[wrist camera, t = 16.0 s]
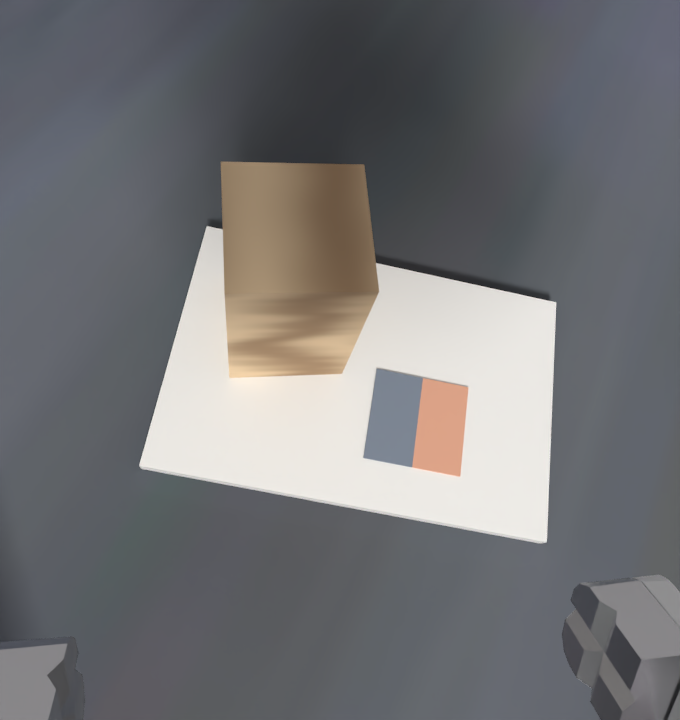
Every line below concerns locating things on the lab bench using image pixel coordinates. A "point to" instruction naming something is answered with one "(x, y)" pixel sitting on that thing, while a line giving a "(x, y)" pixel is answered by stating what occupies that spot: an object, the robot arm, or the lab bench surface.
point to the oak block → (295, 266)
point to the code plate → (376, 407)
